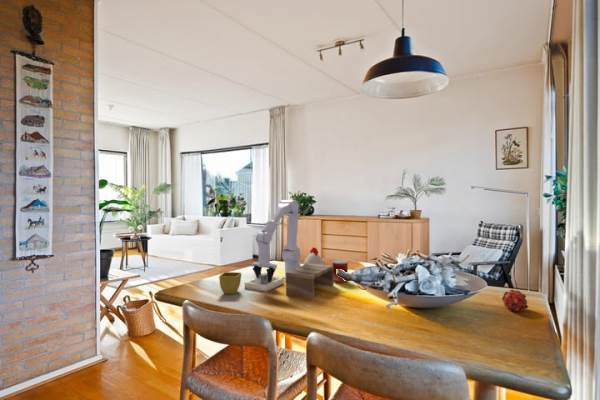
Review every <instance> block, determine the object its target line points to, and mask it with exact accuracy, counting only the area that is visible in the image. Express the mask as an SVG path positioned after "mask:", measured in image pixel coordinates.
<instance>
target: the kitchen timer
mask: <svg viewBox="0 0 600 400" xmlns="http://www.w3.org/2000/svg"><path fill="white" fill-rule="evenodd" d="M309 251H310V252H309V253H310V254H308V256H307V257H305V260H304V261H303V265H306V264H308V263H314V264H324V265H326V261H325V259H324V258H322V256H321V255H320V254H319V250H318V248H316V247H312V248H311V250H309ZM303 265H302V266H303Z"/></svg>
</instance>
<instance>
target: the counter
mask: <svg viewBox="0 0 600 400" xmlns="http://www.w3.org/2000/svg"><path fill="white" fill-rule="evenodd" d="M300 266H301V267H298V268H296V269H294V270H291V271H289V272H286V278H285V294H286V296H292V297H297V298H304V299H309V298H310V299H311V300H314V299H315V285H317V284H318V286H326V287H334V285H335V284H334V283H335V282H334V278H333V264H331V265H330V264H325V265H324V264H314V263H308V264H306V265H300Z"/></svg>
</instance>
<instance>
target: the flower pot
mask: <svg viewBox="0 0 600 400" xmlns="http://www.w3.org/2000/svg"><path fill="white" fill-rule="evenodd" d="M241 279H242V272H239V271H238V272H236V271H235V272H234V271H229V272H228V271H226V272H225V271H224V272H223V273H222V274H220V275H219V276H218V280H219V286H220V289H221V292H222V293H223V294H227V295H228V294H229V295H234V294H236V293H237V291H238V290H239V288H240V286H241Z"/></svg>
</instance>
